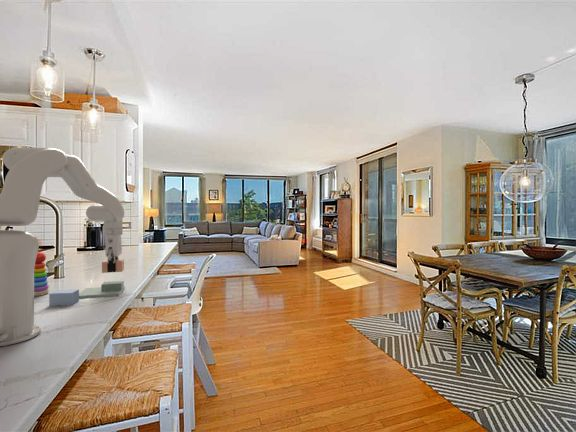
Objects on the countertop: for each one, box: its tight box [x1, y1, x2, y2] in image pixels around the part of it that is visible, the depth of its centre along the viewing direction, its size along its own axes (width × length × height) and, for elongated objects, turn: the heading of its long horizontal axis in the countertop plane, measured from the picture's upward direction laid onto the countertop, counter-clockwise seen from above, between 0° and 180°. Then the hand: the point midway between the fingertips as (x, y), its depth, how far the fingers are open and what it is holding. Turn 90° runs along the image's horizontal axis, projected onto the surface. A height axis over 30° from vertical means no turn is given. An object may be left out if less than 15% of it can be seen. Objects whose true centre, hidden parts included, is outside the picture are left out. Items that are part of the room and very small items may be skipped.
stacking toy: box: [34, 251, 50, 297], centre depth 126 cm, size 8×8×19 cm
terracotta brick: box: [101, 258, 125, 274], centre depth 133 cm, size 5×8×5 cm, turn 111°
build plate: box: [79, 280, 126, 299], centre depth 130 cm, size 13×16×4 cm
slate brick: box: [48, 288, 80, 307], centre depth 115 cm, size 5×8×5 cm, turn 100°
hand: (113, 270), depth 133 cm, fingers closed on terracotta brick, 5 cm apart
